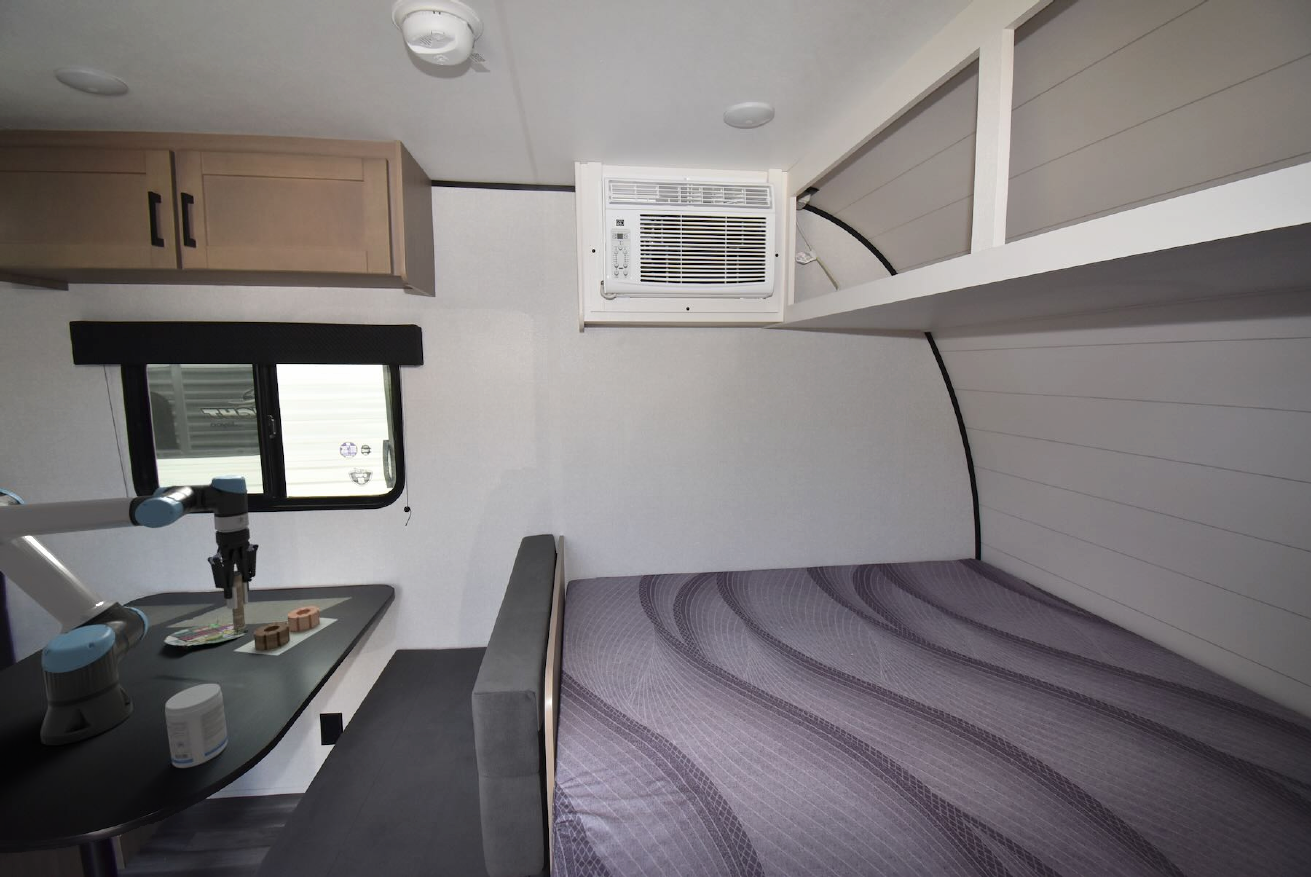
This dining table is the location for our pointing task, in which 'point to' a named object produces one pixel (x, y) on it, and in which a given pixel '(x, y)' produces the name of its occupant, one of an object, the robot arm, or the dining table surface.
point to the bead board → (294, 639)
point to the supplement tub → (196, 725)
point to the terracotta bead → (303, 618)
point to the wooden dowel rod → (238, 602)
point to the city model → (204, 635)
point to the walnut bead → (271, 636)
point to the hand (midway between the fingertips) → (237, 605)
